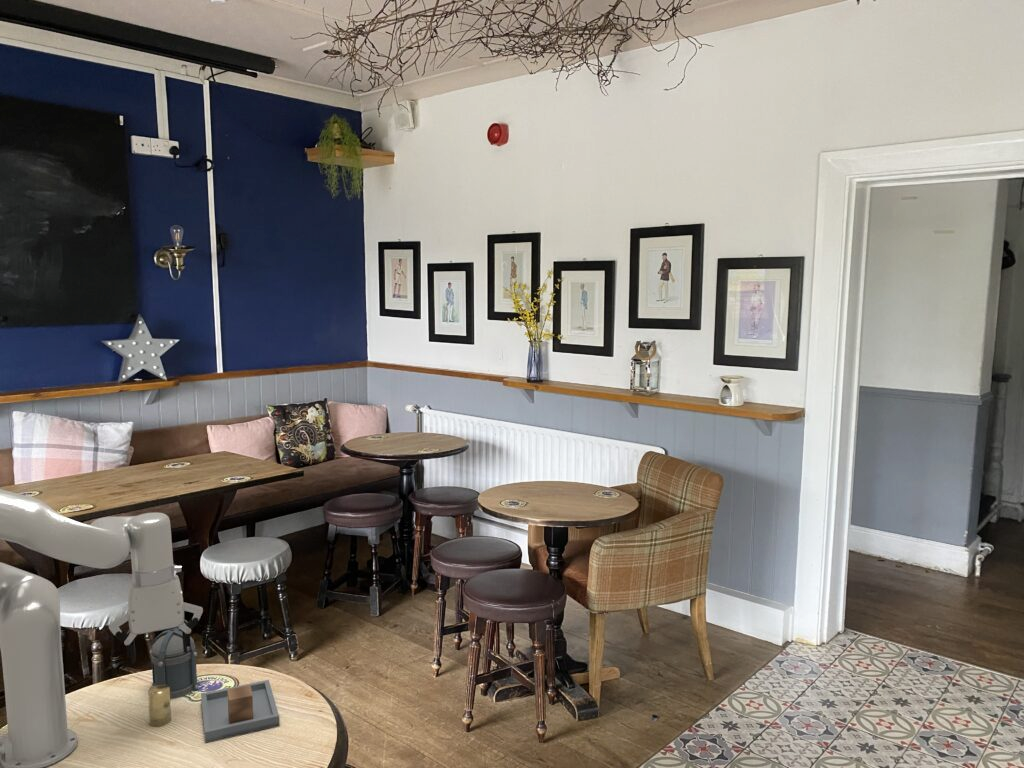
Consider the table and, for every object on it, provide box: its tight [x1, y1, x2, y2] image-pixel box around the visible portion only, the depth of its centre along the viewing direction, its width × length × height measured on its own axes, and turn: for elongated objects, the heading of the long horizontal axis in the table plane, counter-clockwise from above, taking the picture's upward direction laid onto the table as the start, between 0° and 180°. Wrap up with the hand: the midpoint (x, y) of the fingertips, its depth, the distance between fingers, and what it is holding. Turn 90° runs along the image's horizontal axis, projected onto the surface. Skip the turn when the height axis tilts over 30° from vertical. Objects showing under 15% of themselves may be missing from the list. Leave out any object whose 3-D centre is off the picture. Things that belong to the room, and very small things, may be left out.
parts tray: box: [200, 679, 280, 744], centre depth 157 cm, size 14×16×2 cm
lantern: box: [149, 627, 200, 700], centre depth 166 cm, size 11×11×30 cm
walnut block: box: [227, 685, 253, 724], centre depth 154 cm, size 4×4×6 cm
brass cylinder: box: [147, 684, 172, 728], centre depth 154 cm, size 4×4×7 cm
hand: (159, 655), depth 154 cm, fingers open, 9 cm apart
